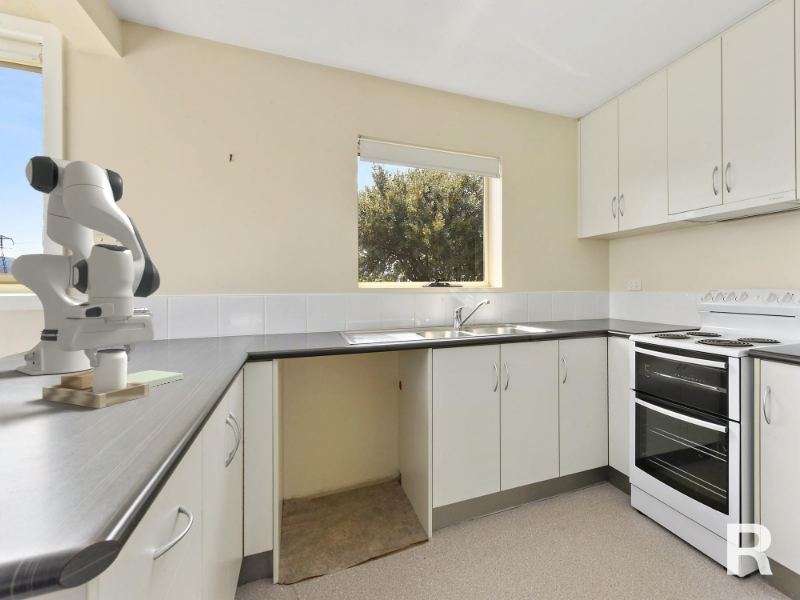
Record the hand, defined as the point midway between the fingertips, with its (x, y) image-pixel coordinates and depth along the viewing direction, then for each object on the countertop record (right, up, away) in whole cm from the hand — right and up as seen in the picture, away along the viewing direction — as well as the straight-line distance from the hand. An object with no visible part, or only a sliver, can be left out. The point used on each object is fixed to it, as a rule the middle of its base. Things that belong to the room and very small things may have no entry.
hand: (110, 364), depth 86 cm
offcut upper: (-9, -6, +3) cm, 11 cm away
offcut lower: (-9, -9, +2) cm, 13 cm away
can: (-1, -9, 0) cm, 9 cm away
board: (-4, -9, +17) cm, 19 cm away
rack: (-5, -9, +1) cm, 10 cm away
